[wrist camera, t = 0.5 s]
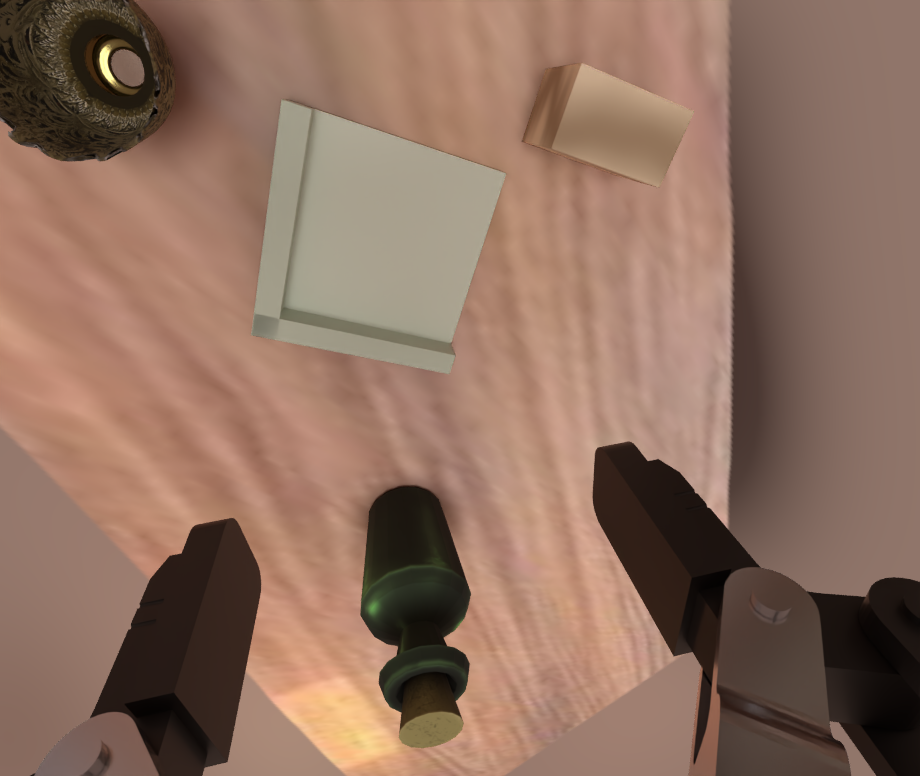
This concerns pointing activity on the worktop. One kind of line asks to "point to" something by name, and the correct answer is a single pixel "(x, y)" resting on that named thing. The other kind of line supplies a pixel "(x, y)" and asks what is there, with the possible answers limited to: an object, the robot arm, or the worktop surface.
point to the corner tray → (369, 241)
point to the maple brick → (606, 123)
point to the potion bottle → (416, 612)
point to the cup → (80, 77)
